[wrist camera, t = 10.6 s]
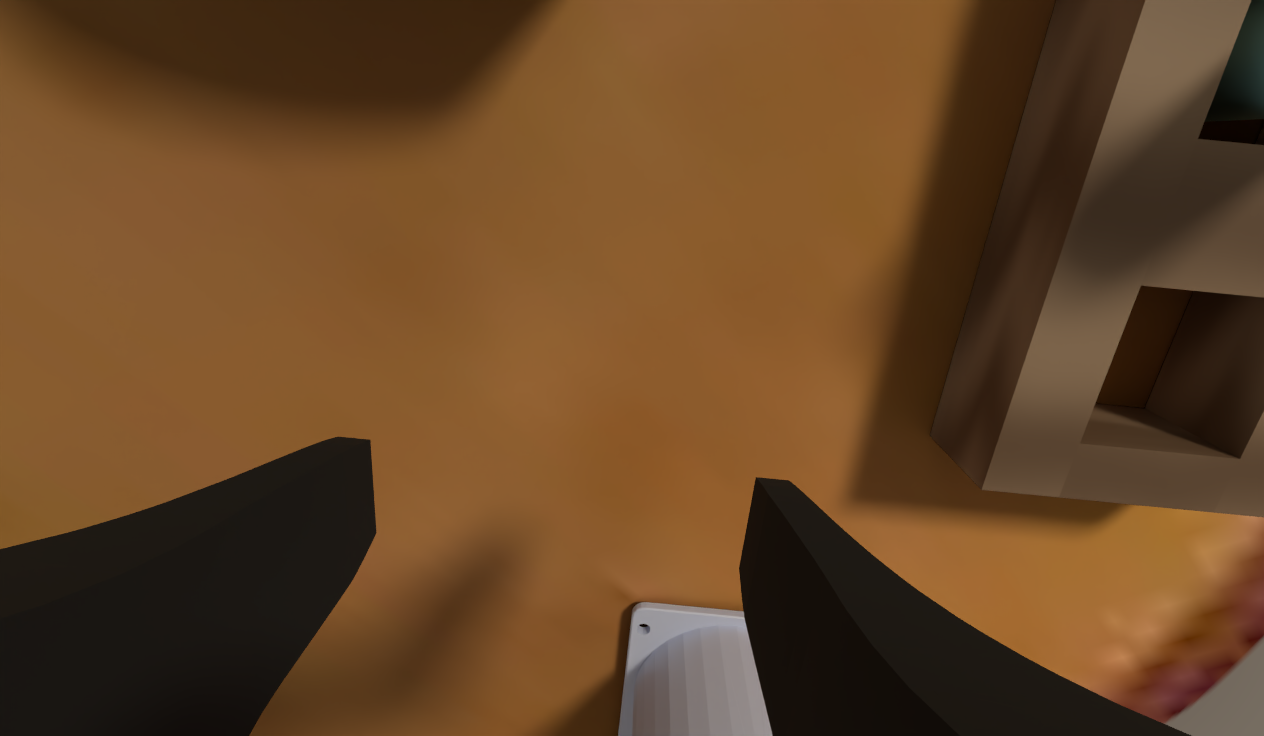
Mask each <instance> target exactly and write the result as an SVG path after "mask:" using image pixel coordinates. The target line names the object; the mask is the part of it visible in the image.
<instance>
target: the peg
mask: <svg viewBox="0 0 1264 736" xmlns="http://www.w3.org/2000/svg"><path fill="white" fill-rule="evenodd" d="M1252 119H1264V0H1251V3H1250V5H1249V8H1248V10H1247V13H1246V16H1245V18H1244V21H1243V23H1242V26H1241V29H1240V31H1239V34H1238V36H1237V39H1236V41H1235V44H1234V47H1233V49H1232V52H1231V54H1230V57H1229V60H1228V62H1227V65H1226V67H1225V70H1224V72H1223V75H1222V78H1221V80H1220V83H1219V85H1218V88H1217V90H1216V93H1215V96H1214V98H1213V101H1212V103H1211V106H1210V109H1209V111H1208V114H1207V116H1206V119H1205V121H1204V122H1210V121H1231V120H1252Z"/></svg>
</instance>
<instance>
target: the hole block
mask: <svg viewBox="0 0 1264 736" xmlns="http://www.w3.org/2000/svg"><path fill="white" fill-rule="evenodd" d="M1250 3H1251V0H1056V2H1055V6H1054V9H1053V13H1052V16H1051V20H1050V23H1049V27H1048V30H1047V33H1046V37H1045V40H1044V44H1043V47H1042V51H1041V54H1040V58H1039V61H1038V65H1037V68H1036V71H1035V75H1034V78H1033V82H1032V85H1031V89H1030V92H1029V96H1028V99H1027V102H1026V106H1025V109H1024V113H1023V116H1022V120H1021V123H1020V127H1019V130H1018V133H1017V137H1016V140H1015V144H1014V147H1013V151H1012V154H1011V158H1010V161H1009V164H1008V168H1007V171H1006V175H1005V178H1004V182H1003V185H1002V189H1001V192H1000V195H999V199H998V202H997V206H996V209H995V213H994V216H993V220H992V223H991V226H990V230H989V233H988V237H987V240H986V244H985V247H984V251H983V254H982V257H981V261H980V264H979V268H978V271H977V275H976V278H975V282H974V285H973V288H972V292H971V295H970V299H969V302H968V306H967V309H966V313H965V316H964V320H963V323H962V326H961V330H960V333H959V337H958V340H957V344H956V347H955V351H954V354H953V357H952V361H951V364H950V368H949V371H948V375H947V378H946V382H945V385H944V388H943V392H942V395H941V399H940V402H939V406H938V409H937V413H936V416H935V419H934V423H933V426H932V430H931V433H930V437H931V438H932V439H933V440H934V441H935V442H936V443H937V444H938V445H939V446H940V447H941V448H942V449H943V450H944V451H945V452H946V453H947V454H948V455H949V456H950V457H951V458H952V460H953V461H954V462H955V463H956V464H957V465H958V466H959V467H960V468H961V469H962V470H963V471H964V472H965V473H966V474H967V475H968V476H969V477H970V478H971V479H972V480H973V481H974V482H975V484H976V485H977V486H978V487H979V488H980V489H981V490H988V491H998V492H1009V493H1019V494H1029V495H1040V496H1050V497H1060V498H1070V499H1081V500H1091V501H1101V502H1112V503H1122V504H1132V505H1142V506H1153V507H1163V508H1173V509H1184V510H1194V511H1204V512H1214V513H1225V514H1235V515H1245V516H1256V517H1264V125H1263V127H1262V129H1261V132H1260V134H1259V137H1258V139H1257V141H1256V144H1246V143H1236V142H1225V141H1215V140H1205V139H1198V137H1199V134H1200V132H1201V129H1202V127H1203V124H1204V121H1205V119H1206V116H1207V114H1208V111H1209V109H1210V106H1211V103H1212V101H1213V98H1214V96H1215V93H1216V90H1217V88H1218V85H1219V83H1220V80H1221V78H1222V75H1223V72H1224V70H1225V67H1226V65H1227V62H1228V60H1229V57H1230V54H1231V52H1232V49H1233V47H1234V44H1235V41H1236V39H1237V36H1238V34H1239V31H1240V29H1241V26H1242V23H1243V21H1244V18H1245V16H1246V13H1247V10H1248V8H1249V5H1250ZM1141 286H1151V287H1161V288H1172V289H1182V290H1192V291H1194V292H1193V294H1192V296H1191V299H1190V301H1189V304H1188V306H1187V308H1186V311H1185V313H1184V316H1183V318H1182V320H1181V323H1180V325H1179V327H1178V330H1177V332H1176V335H1175V337H1174V339H1173V342H1172V344H1171V347H1170V349H1169V351H1168V354H1167V356H1166V358H1165V361H1164V363H1163V366H1162V368H1161V370H1160V373H1159V375H1158V378H1157V380H1156V382H1155V385H1154V387H1153V389H1152V392H1151V394H1150V397H1149V399H1148V401H1147V404H1146V406H1145V408H1136V407H1125V406H1115V405H1105V404H1095V403H1096V400H1097V398H1098V395H1099V393H1100V390H1101V387H1102V385H1103V382H1104V380H1105V377H1106V375H1107V372H1108V369H1109V367H1110V364H1111V362H1112V359H1113V356H1114V354H1115V351H1116V349H1117V346H1118V344H1119V341H1120V338H1121V336H1122V333H1123V331H1124V328H1125V325H1126V323H1127V320H1128V318H1129V315H1130V313H1131V310H1132V307H1133V305H1134V302H1135V300H1136V297H1137V295H1138V292H1139V289H1140V287H1141Z"/></svg>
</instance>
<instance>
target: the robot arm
mask: <svg viewBox="0 0 1264 736" xmlns="http://www.w3.org/2000/svg"><path fill="white" fill-rule="evenodd" d="M375 535H376V521H375V505H374V490H373V475H372V459H371V444H370V440H366V439H356V438H346V437H335V438H332V439H328V440H325V441H322V442H319V443H316V444H314V445H311V446H308V447H306V448H303V449H301V450H298V451H296V452H293V453H291V454H288V455H286V456H283V457H281V458H278V459H276V460H274V461H271V462H269V463H266V464H264V465H261V466H259V467H256V468H254V469H252V470H249V471H247V472H244V473H242V474H239V475H237V476H234V477H232V478H229V479H227V480H224V481H222V482H219V483H216V484H214V485H211V486H208V487H206V488H203V489H200V490H198V491H195V492H192V493H190V494H187V495H184V496H182V497H179V498H176V499H174V500H171V501H168V502H166V503H163V504H160V505H157V506H154V507H151V508H148V509H145V510H142V511H139V512H136V513H133V514H130V515H127V516H123V517H120V518H117V519H113V520H110V521H107V522H103V523H100V524H97V525H93V526H90V527H87V528H83V529H80V530H76V531H72V532H69V533H65V534H61V535H57V536H53V537H48V538H44V539H40V540H36V541H32V542H28V543H24V544H20V545H16V546H12V547H8V548H4V549H0V736H249V735H250V733H251V731H252V729H253V728H254V726H255V724H256V722H257V720H258V719H259V717H260V715H261V714H262V712H263V710H264V709H265V707H266V706H267V704H268V703H269V701H270V699H271V698H272V696H273V695H274V693H275V692H276V690H277V689H278V687H279V686H280V684H281V683H282V681H283V680H284V678H285V677H286V676H287V674H288V673H289V671H290V670H291V668H292V667H293V666H294V664H295V663H296V661H297V660H298V658H299V657H300V656H301V654H302V653H303V651H304V650H305V648H306V647H307V646H308V644H309V643H310V641H311V640H312V638H313V637H314V636H315V634H316V633H317V631H318V630H319V628H320V627H321V626H322V624H323V623H324V621H325V620H326V618H327V617H328V615H329V614H330V613H331V611H332V610H333V608H334V607H335V605H336V604H337V602H338V601H339V599H340V598H341V597H342V595H343V594H344V592H345V591H346V589H347V588H348V586H349V585H350V583H351V582H352V580H353V578H354V576H355V575H356V573H357V571H358V569H359V567H360V565H361V563H362V561H363V559H364V557H365V555H366V553H367V551H368V549H369V547H370V545H371V543H372V541H373V539H374V537H375ZM739 572H740V582H741V592H742V602H743V610H744V612H743V611H733V610H723V609H712V608H702V607H692V606H681V605H671V604H661V603H651V602H641V603H638V604H636V605H635V606H634V607H633V610H632V616H631V625H630V634H629V643H628V651H627V660H626V669H625V678H624V686H623V695H622V704H621V713H620V721H619V730H618V736H1191V735H1189V734H1186V733H1184V732H1182V731H1179V730H1177V729H1174V728H1172V727H1170V726H1168V725H1165V724H1163V723H1161V722H1158V721H1156V720H1154V719H1151V718H1149V717H1147V716H1144V715H1142V714H1140V713H1137V712H1135V711H1133V710H1130V709H1128V708H1126V707H1123V706H1121V705H1119V704H1117V703H1115V702H1112V701H1110V700H1108V699H1106V698H1104V697H1102V696H1100V695H1098V694H1096V693H1094V692H1092V691H1090V690H1088V689H1086V688H1084V687H1082V686H1080V685H1078V684H1076V683H1074V682H1072V681H1070V680H1068V679H1066V678H1063V677H1061V676H1059V675H1057V674H1056V673H1054V672H1052V671H1050V670H1048V669H1046V668H1044V667H1042V666H1040V665H1039V664H1037V663H1035V662H1033V661H1031V660H1029V659H1027V658H1025V657H1024V656H1022V655H1020V654H1018V653H1017V652H1015V651H1013V650H1011V649H1010V648H1008V647H1006V646H1005V645H1003V644H1001V643H999V642H998V641H996V640H994V639H992V638H991V637H989V636H987V635H986V634H984V633H982V632H980V631H979V630H977V629H976V628H974V627H972V626H971V625H969V624H968V623H966V622H964V621H963V620H961V619H960V618H958V617H956V616H955V615H953V614H952V613H950V612H949V611H948V610H946V609H945V608H943V607H942V606H940V605H939V604H937V603H936V602H934V601H933V600H931V599H930V598H928V597H927V596H925V595H924V594H923V593H921V592H920V591H918V590H917V589H916V588H914V587H913V586H911V585H910V584H909V583H907V582H906V581H905V580H903V579H902V578H901V577H900V576H898V575H897V574H896V573H894V572H893V571H892V570H891V569H889V568H888V567H887V566H886V565H884V564H883V563H882V562H881V561H879V560H878V559H877V558H876V557H874V556H873V555H872V554H871V553H870V552H868V551H867V550H866V549H865V548H864V547H862V546H861V545H860V544H859V543H858V542H857V541H856V540H854V539H853V538H852V537H851V536H850V535H849V534H848V533H846V532H845V531H844V530H843V529H842V528H841V527H840V526H839V525H838V524H836V523H835V522H834V521H833V520H832V519H831V518H830V517H829V516H828V515H827V514H826V513H825V512H823V511H822V510H821V509H820V508H819V507H818V506H817V505H816V504H815V503H814V502H813V501H812V500H811V499H809V498H808V497H807V496H806V495H805V494H804V493H803V492H802V491H801V490H800V489H798V488H797V487H796V486H795V485H794V484H793V483H791V482H790V481H788V480H778V479H768V478H757V477H756V480H755V485H754V491H753V496H752V502H751V507H750V512H749V518H748V523H747V529H746V534H745V540H744V545H743V550H742V556H741V561H740V567H739ZM640 624H647V625H648V626H647V627H641V626H639V625H640Z"/></svg>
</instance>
